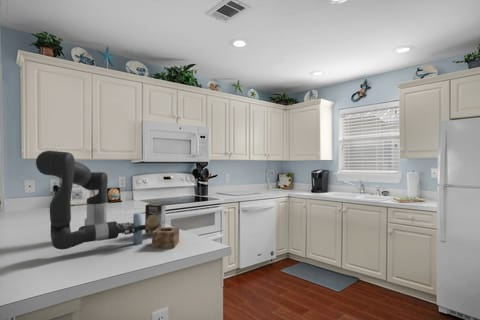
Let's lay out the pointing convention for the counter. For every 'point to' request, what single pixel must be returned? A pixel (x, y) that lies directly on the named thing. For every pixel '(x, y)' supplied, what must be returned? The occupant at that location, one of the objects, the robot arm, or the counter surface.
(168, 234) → the socket block
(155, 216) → the coffee box
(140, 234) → the peg
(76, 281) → the counter surface
